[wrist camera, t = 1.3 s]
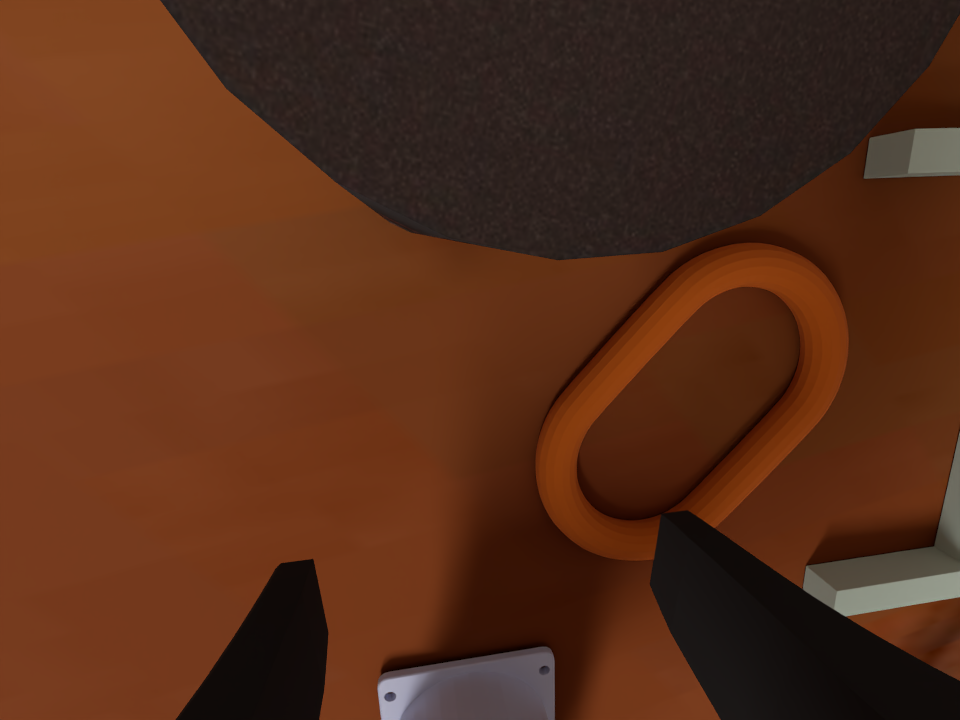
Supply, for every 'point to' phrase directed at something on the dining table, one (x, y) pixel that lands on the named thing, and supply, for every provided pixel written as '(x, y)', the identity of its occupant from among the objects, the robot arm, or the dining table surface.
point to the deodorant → (569, 105)
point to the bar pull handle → (956, 554)
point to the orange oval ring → (642, 340)
